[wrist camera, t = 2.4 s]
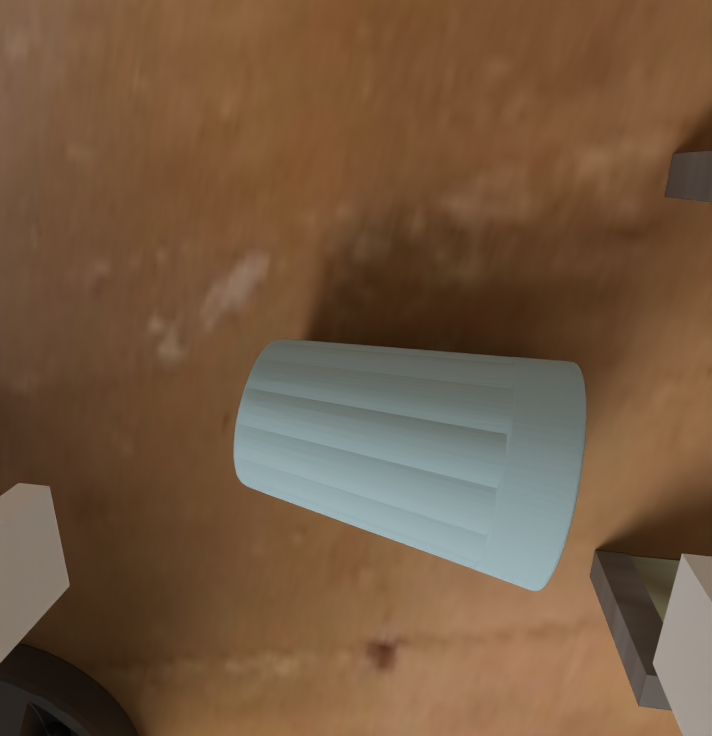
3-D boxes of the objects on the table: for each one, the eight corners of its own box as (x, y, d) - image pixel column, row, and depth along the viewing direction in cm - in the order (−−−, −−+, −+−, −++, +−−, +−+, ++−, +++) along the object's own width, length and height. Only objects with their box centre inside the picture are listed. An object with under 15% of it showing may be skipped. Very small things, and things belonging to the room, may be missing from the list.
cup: (296, 269, 21) (579, 319, 19) (298, 415, 26) (525, 465, 24) (204, 397, 15) (598, 484, 13) (229, 555, 20) (522, 634, 18)
